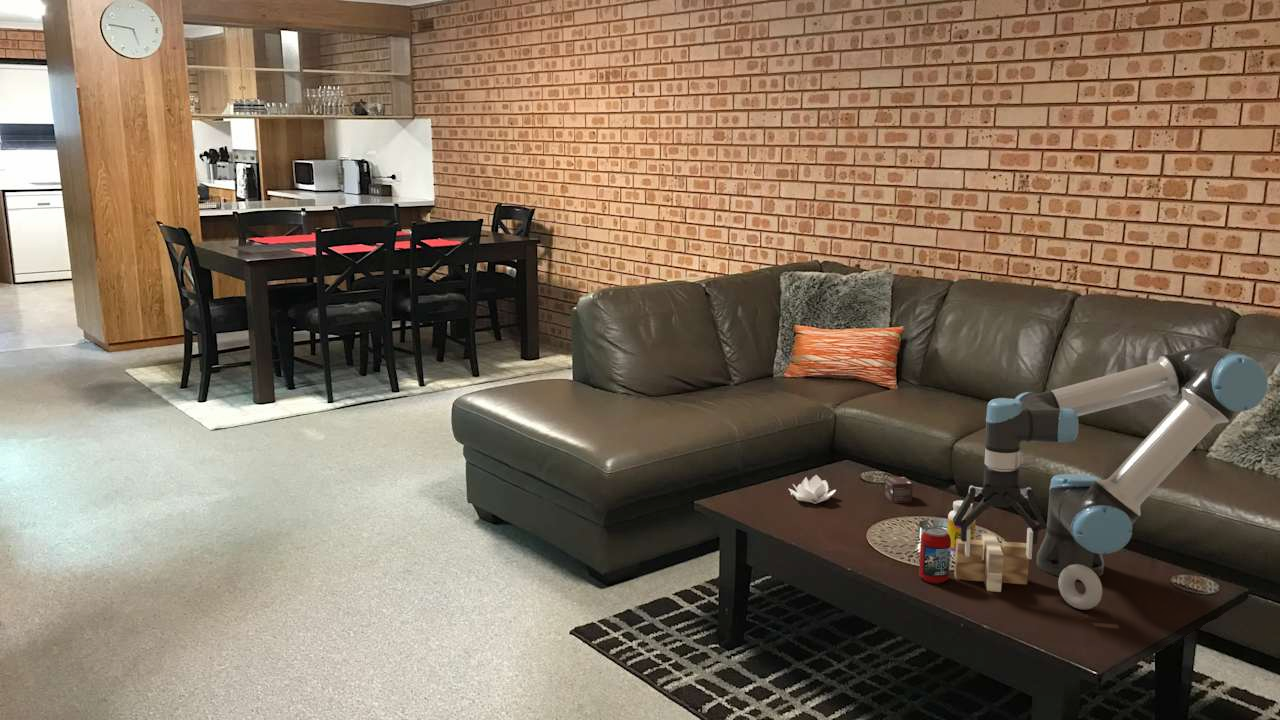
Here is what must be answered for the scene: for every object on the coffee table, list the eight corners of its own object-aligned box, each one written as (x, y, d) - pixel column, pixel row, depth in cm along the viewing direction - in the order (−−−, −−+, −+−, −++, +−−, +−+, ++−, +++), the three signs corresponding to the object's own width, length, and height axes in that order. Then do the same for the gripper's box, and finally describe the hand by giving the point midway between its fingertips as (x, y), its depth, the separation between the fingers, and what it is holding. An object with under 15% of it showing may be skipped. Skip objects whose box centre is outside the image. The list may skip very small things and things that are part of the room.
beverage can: (928, 586, 242) (931, 537, 240) (913, 575, 249) (916, 527, 246) (954, 583, 244) (957, 534, 242) (938, 572, 250) (941, 524, 248)
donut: (1103, 614, 228) (1107, 570, 226) (1094, 618, 226) (1098, 574, 224) (1062, 598, 236) (1065, 556, 234) (1053, 602, 234) (1056, 560, 232)
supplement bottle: (950, 556, 260) (953, 507, 258) (942, 547, 267) (945, 499, 264) (977, 556, 261) (980, 507, 258) (968, 546, 267) (971, 498, 265)
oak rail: (1024, 579, 247) (1027, 543, 245) (1026, 584, 244) (1029, 547, 242) (954, 574, 249) (956, 538, 248) (955, 579, 246) (958, 543, 245)
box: (884, 501, 302) (885, 477, 301) (904, 500, 303) (905, 476, 302) (891, 508, 297) (892, 483, 295) (911, 507, 297) (913, 483, 296)
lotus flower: (846, 512, 293) (847, 482, 292) (795, 515, 290) (796, 485, 289) (827, 496, 307) (828, 467, 305) (778, 499, 304) (779, 470, 302)
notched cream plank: (979, 567, 253) (981, 532, 252) (991, 568, 253) (994, 533, 251) (987, 590, 240) (989, 553, 238) (1000, 591, 239) (1003, 554, 238)
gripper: (1056, 463, 238) (1051, 552, 242) (942, 460, 242) (940, 547, 246) (1063, 473, 231) (1058, 564, 235) (946, 470, 235) (943, 559, 239)
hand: (997, 555), depth 241 cm, fingers open, 13 cm apart
